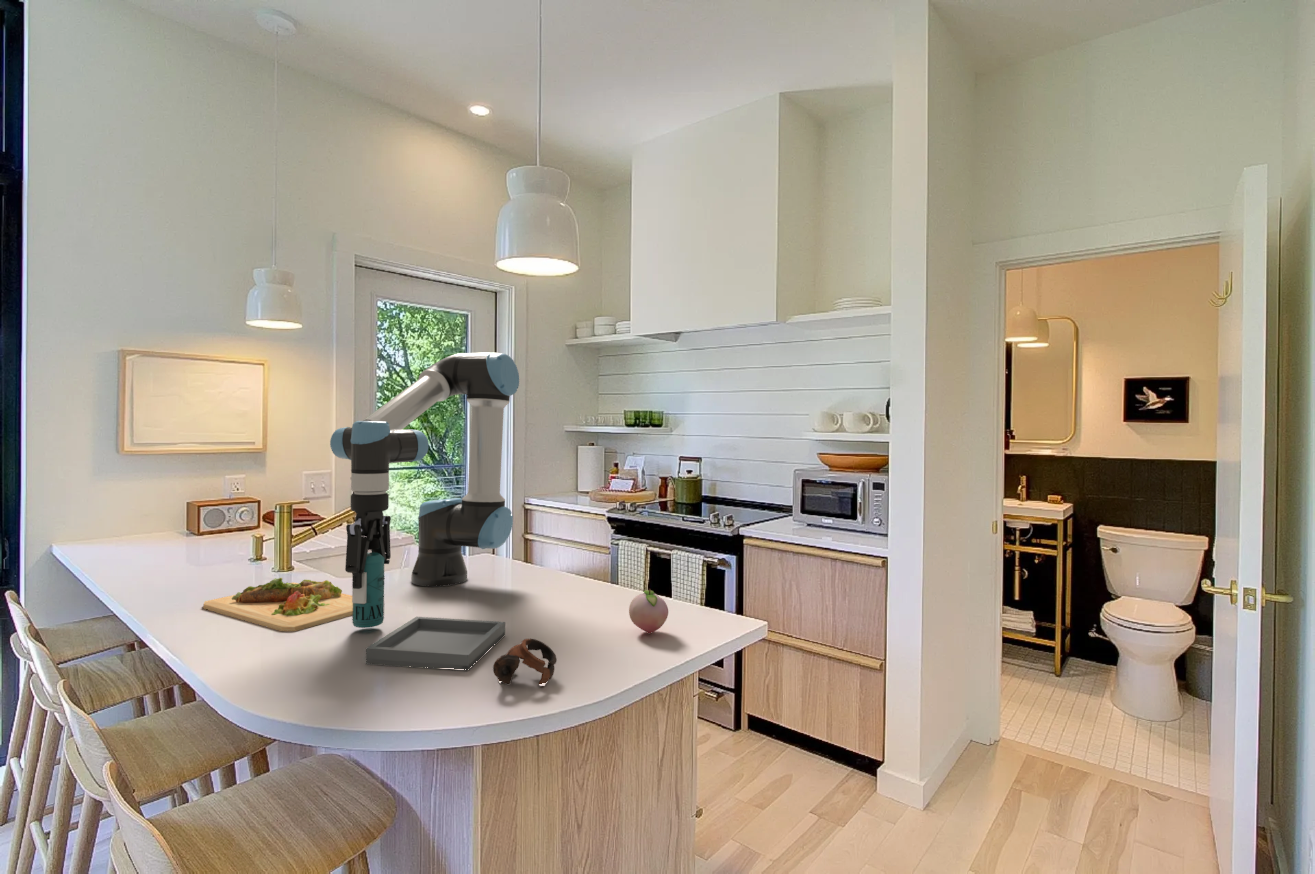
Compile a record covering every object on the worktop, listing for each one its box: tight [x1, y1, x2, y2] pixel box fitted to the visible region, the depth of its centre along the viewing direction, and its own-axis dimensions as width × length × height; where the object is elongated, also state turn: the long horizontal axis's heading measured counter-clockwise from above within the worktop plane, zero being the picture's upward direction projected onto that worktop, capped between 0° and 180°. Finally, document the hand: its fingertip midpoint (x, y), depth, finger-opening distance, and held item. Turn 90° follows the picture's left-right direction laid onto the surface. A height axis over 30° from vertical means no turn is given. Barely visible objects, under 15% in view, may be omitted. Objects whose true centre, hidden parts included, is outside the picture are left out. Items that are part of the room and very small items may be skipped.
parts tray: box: [365, 616, 506, 670], centre depth 131 cm, size 20×20×3 cm
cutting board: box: [203, 577, 353, 632], centre depth 157 cm, size 35×23×8 cm
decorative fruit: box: [628, 588, 669, 634], centre depth 144 cm, size 9×8×10 cm
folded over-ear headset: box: [492, 638, 558, 685], centre depth 116 cm, size 12×10×8 cm
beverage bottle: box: [351, 538, 386, 629], centre depth 141 cm, size 6×7×20 cm
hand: (368, 598), depth 141 cm, fingers closed on beverage bottle, 6 cm apart
